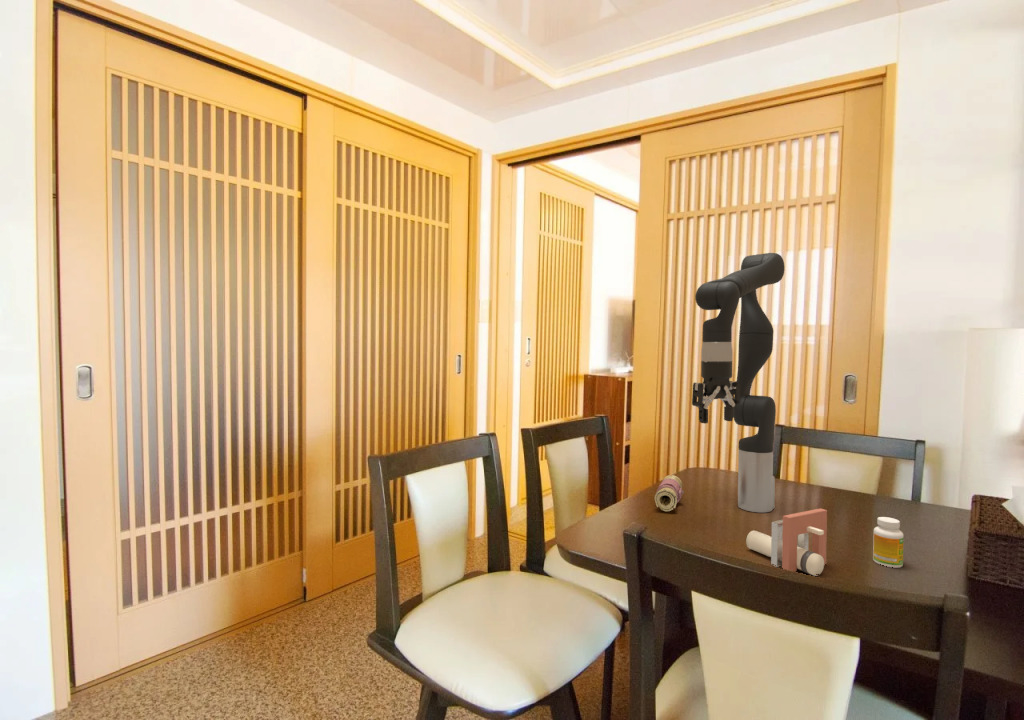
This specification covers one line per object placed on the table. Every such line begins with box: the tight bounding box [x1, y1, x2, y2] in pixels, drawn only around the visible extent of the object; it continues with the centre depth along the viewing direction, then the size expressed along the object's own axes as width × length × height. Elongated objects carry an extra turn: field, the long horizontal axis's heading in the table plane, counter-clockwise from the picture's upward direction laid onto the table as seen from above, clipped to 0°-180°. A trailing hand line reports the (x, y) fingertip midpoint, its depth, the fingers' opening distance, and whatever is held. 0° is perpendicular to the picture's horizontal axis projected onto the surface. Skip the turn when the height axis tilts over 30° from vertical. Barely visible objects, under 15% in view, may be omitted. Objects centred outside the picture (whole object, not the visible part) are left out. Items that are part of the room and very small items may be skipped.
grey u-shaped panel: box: [770, 519, 810, 568], centre depth 116 cm, size 10×2×10 cm, turn 115°
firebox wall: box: [781, 507, 828, 571], centre depth 111 cm, size 12×4×12 cm, turn 115°
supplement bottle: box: [872, 516, 905, 569], centre depth 115 cm, size 5×5×10 cm
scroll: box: [654, 474, 685, 512], centre depth 158 cm, size 8×8×20 cm
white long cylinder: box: [745, 530, 825, 577], centre depth 116 cm, size 16×5×5 cm
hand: (716, 422), depth 136 cm, fingers open, 8 cm apart
